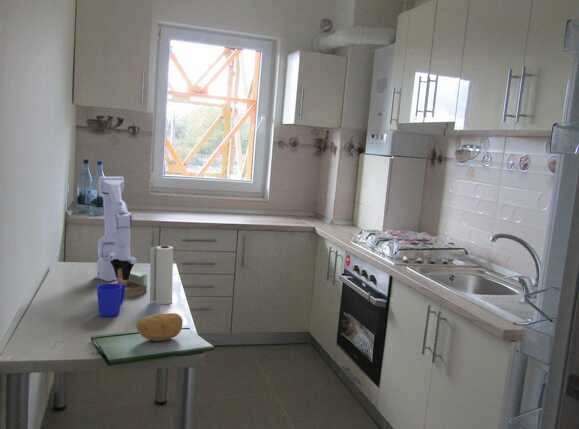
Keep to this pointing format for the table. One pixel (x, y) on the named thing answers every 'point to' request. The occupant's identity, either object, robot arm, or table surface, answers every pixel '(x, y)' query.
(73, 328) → the table surface
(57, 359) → the table surface
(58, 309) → the table surface
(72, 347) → the table surface
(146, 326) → the potato
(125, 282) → the peg
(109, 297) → the mug
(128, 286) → the socket block
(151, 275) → the paper towel roll
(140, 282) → the pale green grooved slab
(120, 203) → the robot arm
